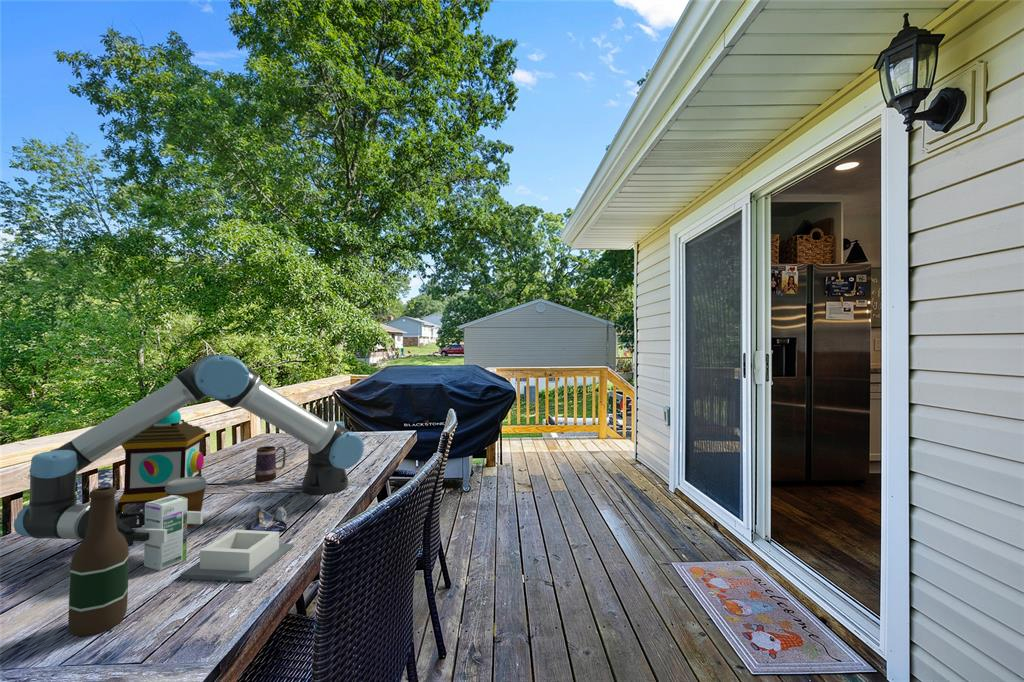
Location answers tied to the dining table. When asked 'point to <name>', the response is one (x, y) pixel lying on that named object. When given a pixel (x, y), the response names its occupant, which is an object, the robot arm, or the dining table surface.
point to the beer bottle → (99, 570)
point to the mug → (267, 463)
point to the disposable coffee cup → (188, 492)
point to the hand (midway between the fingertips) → (184, 526)
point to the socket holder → (238, 556)
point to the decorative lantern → (160, 459)
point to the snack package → (269, 519)
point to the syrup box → (174, 519)
